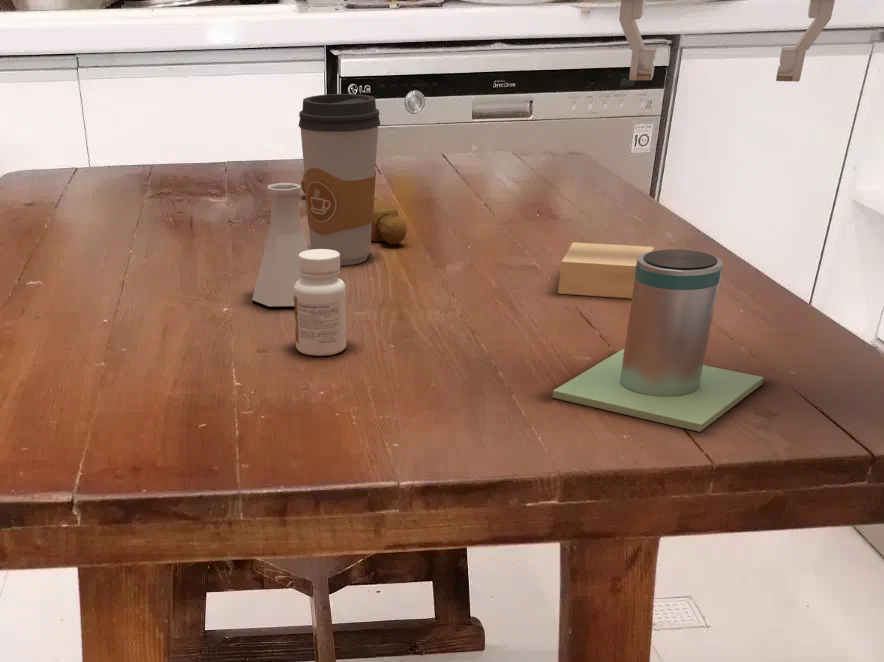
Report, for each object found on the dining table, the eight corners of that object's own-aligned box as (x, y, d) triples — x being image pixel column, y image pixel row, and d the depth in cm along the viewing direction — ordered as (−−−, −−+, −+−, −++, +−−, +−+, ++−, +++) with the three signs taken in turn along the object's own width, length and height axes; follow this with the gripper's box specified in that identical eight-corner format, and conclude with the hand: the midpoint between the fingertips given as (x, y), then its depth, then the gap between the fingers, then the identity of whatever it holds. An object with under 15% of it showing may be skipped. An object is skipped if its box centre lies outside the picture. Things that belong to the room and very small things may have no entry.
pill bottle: (309, 338, 98) (307, 245, 93) (354, 344, 96) (354, 249, 91) (286, 353, 94) (283, 257, 90) (332, 359, 93) (331, 262, 88)
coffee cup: (286, 260, 119) (280, 101, 109) (336, 245, 124) (334, 91, 114) (345, 272, 114) (344, 107, 105) (394, 256, 119) (397, 96, 110)
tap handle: (321, 169, 143) (411, 216, 120) (322, 195, 145) (410, 246, 122) (299, 171, 142) (385, 219, 120) (300, 197, 144) (385, 249, 122)
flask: (242, 293, 109) (236, 182, 103) (312, 285, 111) (309, 175, 105) (262, 313, 104) (256, 197, 98) (334, 304, 105) (333, 190, 99)
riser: (568, 273, 112) (572, 242, 111) (648, 278, 110) (653, 246, 109) (557, 293, 107) (561, 261, 105) (641, 299, 105) (646, 266, 103)
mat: (762, 384, 86) (764, 376, 86) (700, 432, 79) (701, 424, 78) (621, 355, 92) (622, 348, 92) (551, 397, 85) (552, 390, 84)
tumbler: (640, 245, 83) (633, 266, 78) (725, 250, 81) (722, 271, 77) (623, 366, 88) (615, 392, 84) (701, 373, 87) (698, 400, 82)
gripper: (572, -184, 65) (550, 85, 74) (949, -205, 60) (878, 88, 69) (586, -180, 70) (563, 72, 79) (937, -199, 65) (872, 74, 73)
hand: (712, 80), depth 74 cm, fingers open, 8 cm apart
